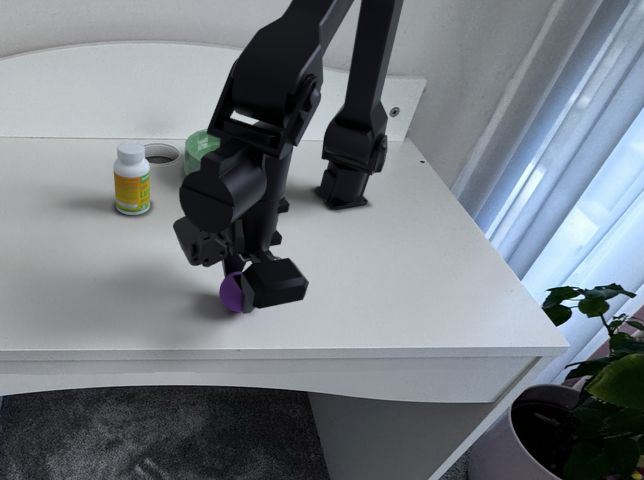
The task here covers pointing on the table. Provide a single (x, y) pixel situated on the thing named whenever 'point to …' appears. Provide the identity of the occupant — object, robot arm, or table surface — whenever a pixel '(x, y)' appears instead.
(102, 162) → the table surface
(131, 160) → the supplement bottle
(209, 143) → the bowl
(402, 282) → the table surface
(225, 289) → the ball
